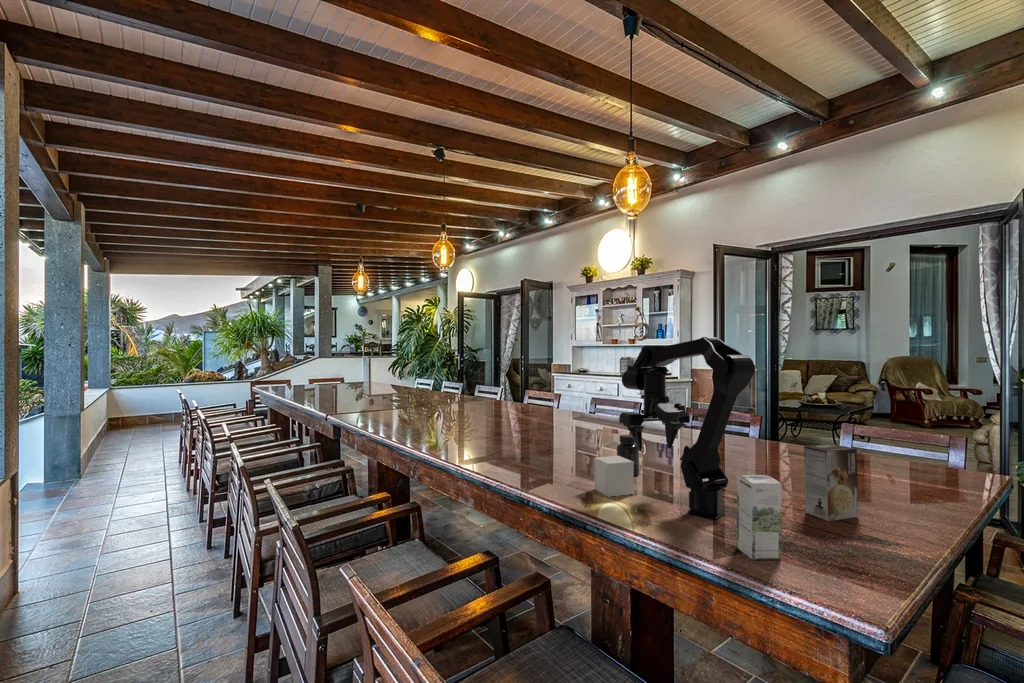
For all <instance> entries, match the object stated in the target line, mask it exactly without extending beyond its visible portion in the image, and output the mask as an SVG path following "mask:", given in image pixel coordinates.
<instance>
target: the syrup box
mask: <svg viewBox="0 0 1024 683" xmlns="http://www.w3.org/2000/svg"><path fill="white" fill-rule="evenodd" d="M782 488H783V486H782V483H781V482H779V480H776V479H774V478H773V477H771V476H768V475H763V474H762V475H757V474H755V475H754V474H752V475H751V474H750V475H748V474H747V475H743V474H742V475H737V476H736V548H737V549H738V550H740V552H742V553H743V554H744V555H745V556H747V557H748V558H749V559H750V560H756V561H758V560H759V561H760V560H761V561H762V560H764V561H765V560H767V561H769V560H782V504H783V503H782V499H783V498H782V495H783V494H782V493H783V492H782Z"/></svg>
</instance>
